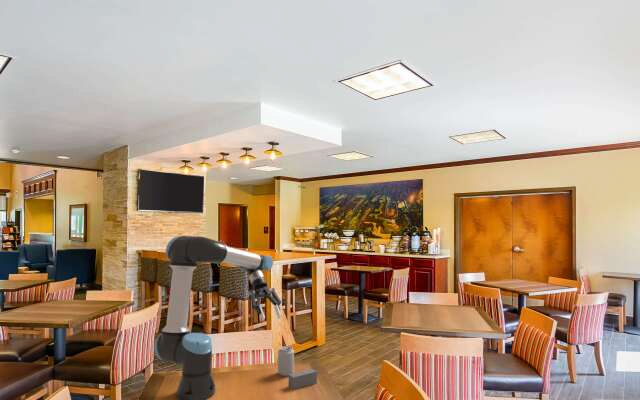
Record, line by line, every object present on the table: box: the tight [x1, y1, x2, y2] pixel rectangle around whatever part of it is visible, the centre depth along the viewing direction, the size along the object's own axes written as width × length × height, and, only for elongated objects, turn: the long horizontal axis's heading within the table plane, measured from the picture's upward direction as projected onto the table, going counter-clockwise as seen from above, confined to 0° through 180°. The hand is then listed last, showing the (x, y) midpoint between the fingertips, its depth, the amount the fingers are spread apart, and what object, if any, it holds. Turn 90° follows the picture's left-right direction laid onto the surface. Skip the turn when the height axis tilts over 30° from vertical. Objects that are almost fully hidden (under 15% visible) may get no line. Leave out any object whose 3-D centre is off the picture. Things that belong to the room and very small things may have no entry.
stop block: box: [288, 368, 318, 390], centre depth 173 cm, size 12×4×5 cm, turn 124°
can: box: [277, 345, 295, 377], centre depth 185 cm, size 8×8×12 cm
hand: (271, 318), depth 198 cm, fingers open, 8 cm apart
